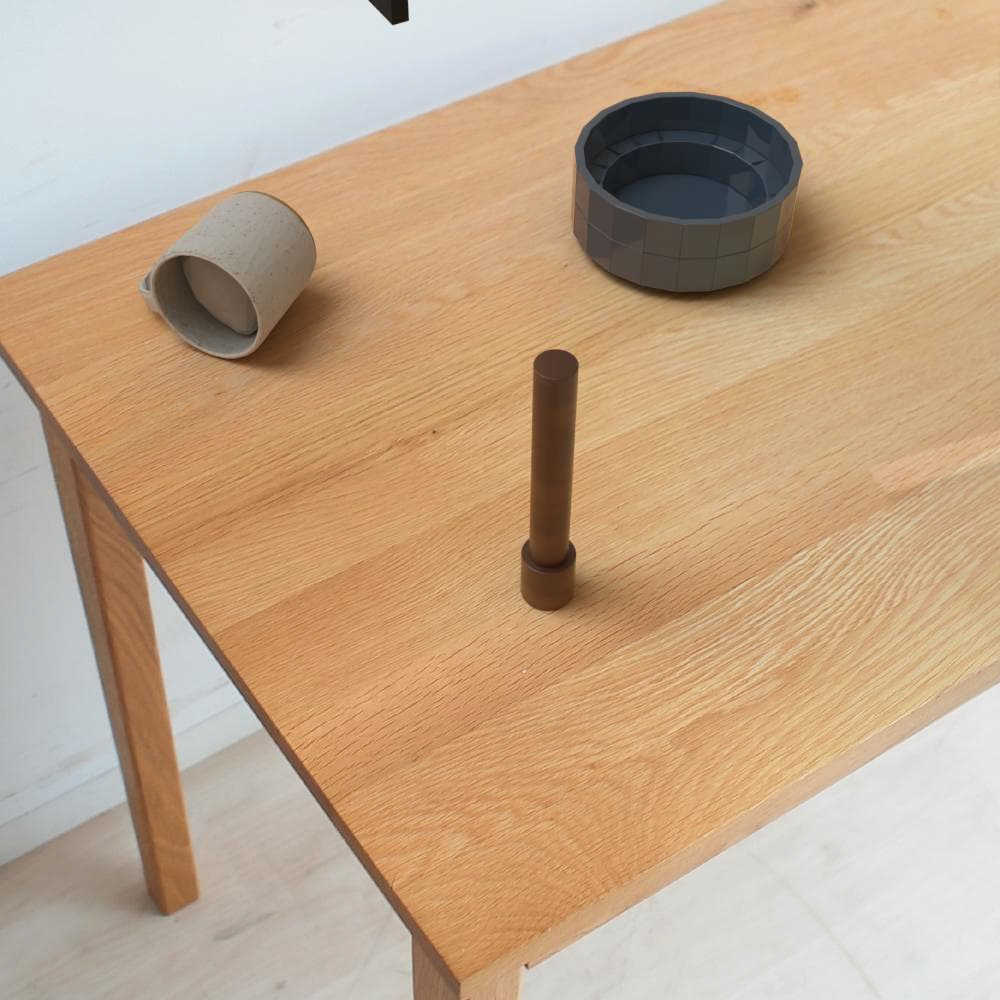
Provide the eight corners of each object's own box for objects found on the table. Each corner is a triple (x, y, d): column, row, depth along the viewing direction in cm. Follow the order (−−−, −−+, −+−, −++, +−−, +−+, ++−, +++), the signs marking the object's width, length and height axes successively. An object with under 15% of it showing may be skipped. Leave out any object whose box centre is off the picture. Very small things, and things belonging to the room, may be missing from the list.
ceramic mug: (331, 290, 91) (317, 189, 85) (270, 373, 86) (251, 271, 80) (184, 254, 94) (161, 153, 88) (117, 332, 89) (88, 231, 83)
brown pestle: (562, 562, 77) (573, 336, 65) (582, 602, 75) (597, 377, 63) (512, 576, 76) (515, 351, 64) (531, 617, 74) (537, 392, 62)
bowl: (729, 150, 101) (739, 74, 97) (826, 272, 92) (843, 195, 88) (540, 192, 98) (542, 115, 94) (622, 322, 89) (628, 245, 85)
